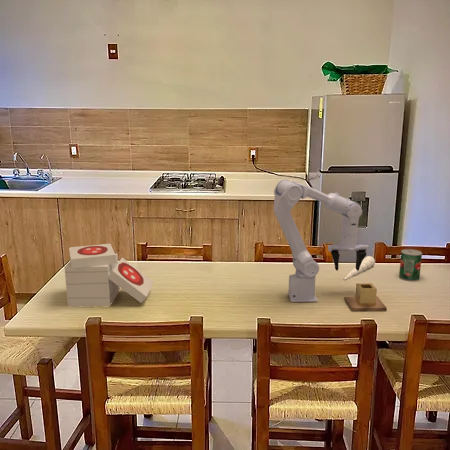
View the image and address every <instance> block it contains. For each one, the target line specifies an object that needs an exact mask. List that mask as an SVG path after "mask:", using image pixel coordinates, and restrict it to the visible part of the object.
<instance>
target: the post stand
mask: <svg viewBox="0 0 450 450" xmlns="http://www.w3.org/2000/svg"><path fill="white" fill-rule="evenodd" d="M343 300H344V302H345V304H346V306H348V308H349V310H350V311H351V312H387V309H388V308H387V306H386V304H384V302H383V301H382V300H381V299H380V297H378V296H377V295H376V306H360V305H359V304H358V303H357V301H356V300H355V296H344V297H343Z"/></svg>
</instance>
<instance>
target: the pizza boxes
mask: <svg viewBox="0 0 450 450" xmlns="http://www.w3.org/2000/svg"><path fill="white" fill-rule="evenodd" d="M113 248H114V247H112V244H111V243H102V244H92V245H81V246H71V247H69V248H68V250H69V251H68V252H69V261H68V262H67V264H65V266H64V276H65V277H64V278H65V286H66V287H65V289H66V297H67V298H66V299H67V307H68V306H110V305H111V303H112V302H113V303H114V301H115V300H114V298H115V297H116V298H117V296H118V295H117V293H118V292H119V293H120V291H119V290H121V289H122V290H123V291H124V292H126V293H127V294H128V295H130V296H131V297H133V298H134V299H135V300H136V301H138V302H139V303H140V304H142V303H144V301H145V299H147V297H148V295H149V293H150V291H151V288H152V287H153V286H152V285H153V283H154V280H152V279H151V278H150V277H149V276H147V275H146V274H145V273H143V272H142V271H141V270H139V268H137V267H135V266H134V265H133V264H131V262H129V261H127V260H126V259H125V258H124V257H121V258H120V260H119V256H118V253H115V251H114V249H113ZM119 293H118V294H119ZM116 295H117V296H116ZM116 298H115V299H116ZM113 300H114V301H113ZM113 303H112V304H113ZM111 306H112V305H111ZM111 306H110V307H111Z"/></svg>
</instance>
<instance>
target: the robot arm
mask: <svg viewBox="0 0 450 450" xmlns="http://www.w3.org/2000/svg"><path fill="white" fill-rule="evenodd" d="M273 194H274V198H273V213H274V215H275V218H276V220H277V221H278V224H279V227H280V228H281V231H282V233H283V235H284V237H285V239H286V241H287V244H288V246H289V248H290V250H291V253H292V254H291V257H292V265H293V267H294V269H295V273H294V274H289V276H288V293H287V294H288V297H289V300H290V303H291V302H293V303H309V302H311V303H316V302H318V299H317V296H316V294H315V293H316V276H317V275H318V274H319V271H320V265H319V263H318V262H317V261H315V260H314V259H313V257H312V255H311V253H310V252H309V251H308V249H307V247H306V245H305V243H304V240H303V238H302V235H301V233H300V231H299V228H298V227H297V224H296V221H295V220H294V218H293V216H292V214H291V212H292V209H293V208H294V206H295V205H296V204H297V203H298V202H299V201H300V200H301V199H303V200H304V199H306V198H310V199H312V200H315V201H318V202H321V203H323V206H324V207H325V208H326V209H327V210H329V211H332V212H335V213H338V214H340V215H341V227H340V228H341V230H340V243H338V244H337V243H336V244H327V251H328V252H329V253H330V254H331V256H332V261H333V264H334V269H335V271H338V272H339V263H340V255H341V254H340V252H355V254H356V257H355V258H356V261H355V267H356V270H359V268H360V265H361V263H362V261H363V259H364V258H365V257H367V252H369V251H370V245H368V244H360V243H358V231H359V221H360V217H361V216H362V214H363V209H362V207H361V204H359V203H358V202H355V201H352V200H351V199H350V198H349V197H346V198H345V197H343V196H341V195H340V193H338V192H330V193H328V194H326V193H324V192H322V191H320V190H317V189H316V188H313V187H312V186H309V185H307V184H303V183H300V182H297V181H290V180H288V179H281V180H280V181H278V182H277V184H276V186H275V188H274V189H273Z"/></svg>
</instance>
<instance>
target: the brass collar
mask: <svg viewBox="0 0 450 450" xmlns="http://www.w3.org/2000/svg"><path fill="white" fill-rule="evenodd" d="M377 290H378V289H377V288H376V286H374V284H373V283H369V282H368V283H364V282H363V283H356V285H355V296H354V297H355V300H356V301H357V303H358V304H359V305H360V306H376V296H377V293H378V291H377Z"/></svg>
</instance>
